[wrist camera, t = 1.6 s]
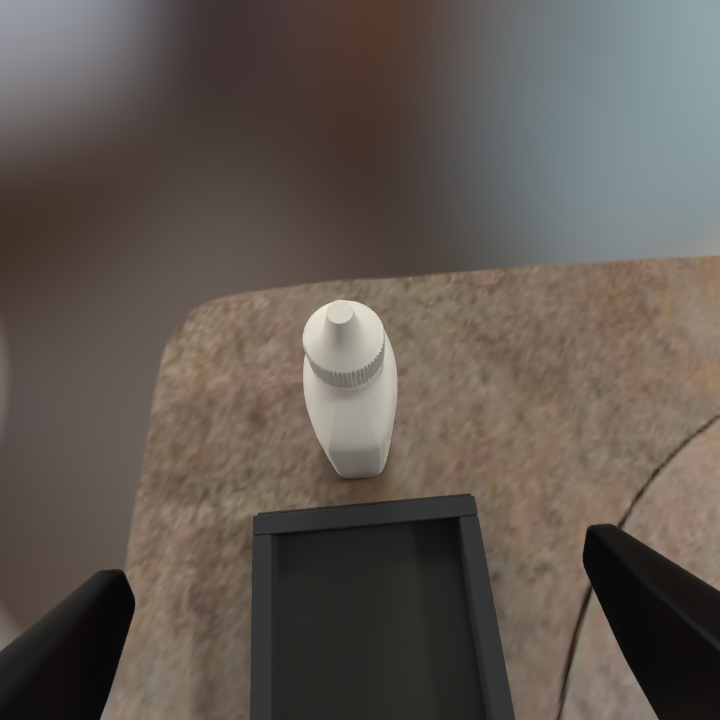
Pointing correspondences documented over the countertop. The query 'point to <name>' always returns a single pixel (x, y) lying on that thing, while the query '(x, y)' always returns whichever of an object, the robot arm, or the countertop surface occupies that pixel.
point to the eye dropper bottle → (350, 386)
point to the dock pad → (375, 614)
